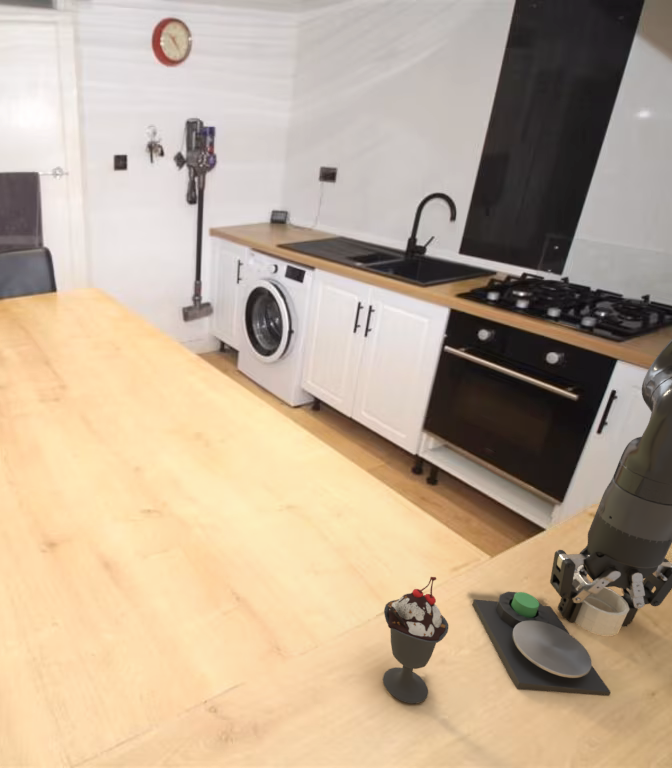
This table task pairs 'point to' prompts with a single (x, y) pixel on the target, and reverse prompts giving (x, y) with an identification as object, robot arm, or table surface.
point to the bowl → (602, 612)
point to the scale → (520, 669)
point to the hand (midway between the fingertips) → (592, 619)
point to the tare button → (525, 604)
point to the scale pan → (552, 649)
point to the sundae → (412, 642)
